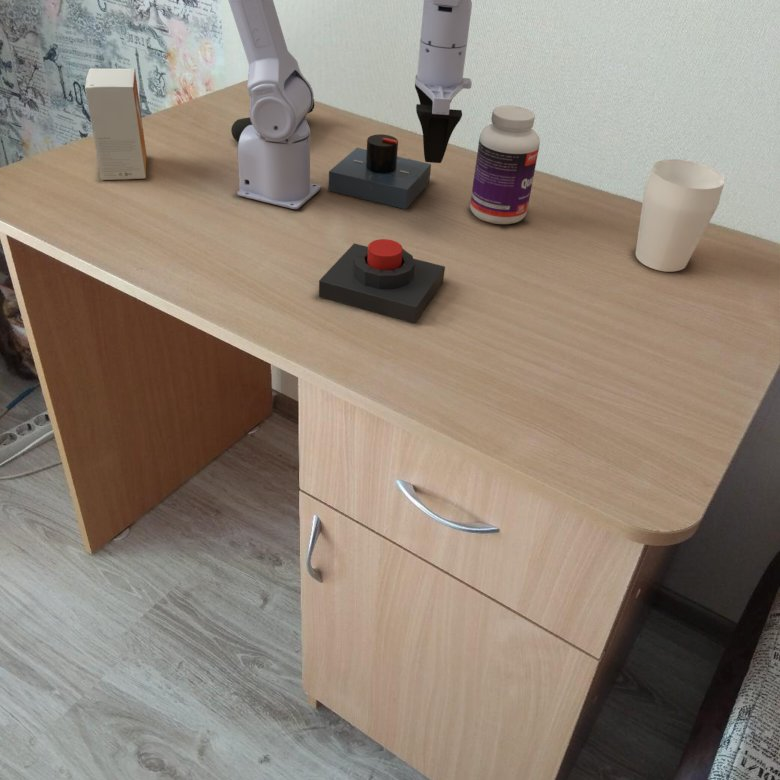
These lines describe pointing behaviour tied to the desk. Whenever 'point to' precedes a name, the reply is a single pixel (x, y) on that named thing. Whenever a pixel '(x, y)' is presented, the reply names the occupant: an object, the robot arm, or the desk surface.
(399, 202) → the dial panel
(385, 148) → the dial
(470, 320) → the desk surface
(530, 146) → the pill bottle
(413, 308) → the button housing
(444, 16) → the robot arm
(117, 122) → the small box
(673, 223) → the cup
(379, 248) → the lid button
